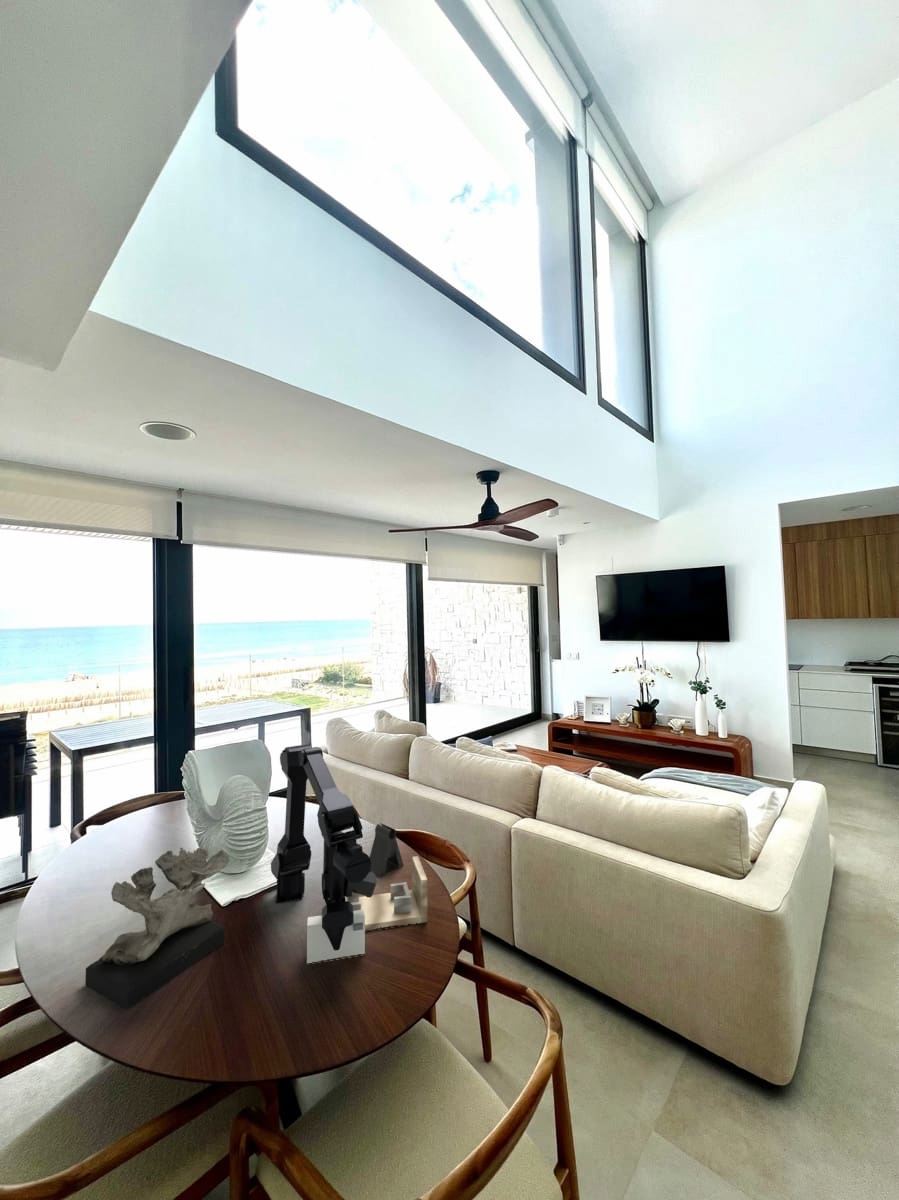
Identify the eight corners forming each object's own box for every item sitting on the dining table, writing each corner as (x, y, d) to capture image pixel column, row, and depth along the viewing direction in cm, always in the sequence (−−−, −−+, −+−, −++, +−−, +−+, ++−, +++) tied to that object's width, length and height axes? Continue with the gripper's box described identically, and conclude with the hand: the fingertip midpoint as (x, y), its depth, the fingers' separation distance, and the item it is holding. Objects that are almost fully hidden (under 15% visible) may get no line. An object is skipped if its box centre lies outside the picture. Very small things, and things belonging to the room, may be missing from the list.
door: (306, 967, 104) (307, 928, 104) (307, 955, 108) (307, 917, 108) (364, 957, 107) (365, 919, 107) (363, 946, 111) (363, 909, 111)
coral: (198, 917, 121) (200, 827, 121) (257, 944, 111) (259, 846, 112) (82, 984, 99) (86, 874, 99) (144, 1024, 89) (147, 902, 90)
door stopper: (379, 878, 139) (379, 834, 140) (366, 870, 144) (366, 828, 144) (403, 866, 146) (404, 824, 146) (390, 859, 150) (390, 819, 150)
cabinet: (335, 936, 114) (335, 891, 114) (333, 906, 125) (334, 866, 126) (427, 922, 119) (427, 879, 120) (417, 894, 131) (417, 856, 131)
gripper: (379, 879, 101) (378, 958, 101) (370, 840, 119) (369, 906, 119) (322, 887, 99) (321, 967, 98) (322, 845, 117) (321, 913, 116)
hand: (336, 936), depth 108 cm, fingers open, 9 cm apart
